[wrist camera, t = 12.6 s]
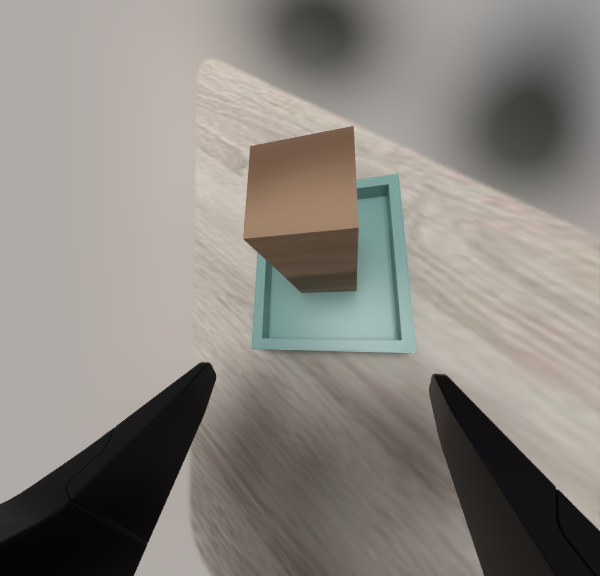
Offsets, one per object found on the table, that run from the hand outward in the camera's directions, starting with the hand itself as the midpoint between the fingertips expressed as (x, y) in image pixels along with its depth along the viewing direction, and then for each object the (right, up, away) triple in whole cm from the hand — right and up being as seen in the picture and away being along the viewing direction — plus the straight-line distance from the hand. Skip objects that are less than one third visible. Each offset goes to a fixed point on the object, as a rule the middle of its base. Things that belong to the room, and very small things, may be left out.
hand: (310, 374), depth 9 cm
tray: (+2, +5, +11) cm, 12 cm away
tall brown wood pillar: (+2, +5, +10) cm, 11 cm away
